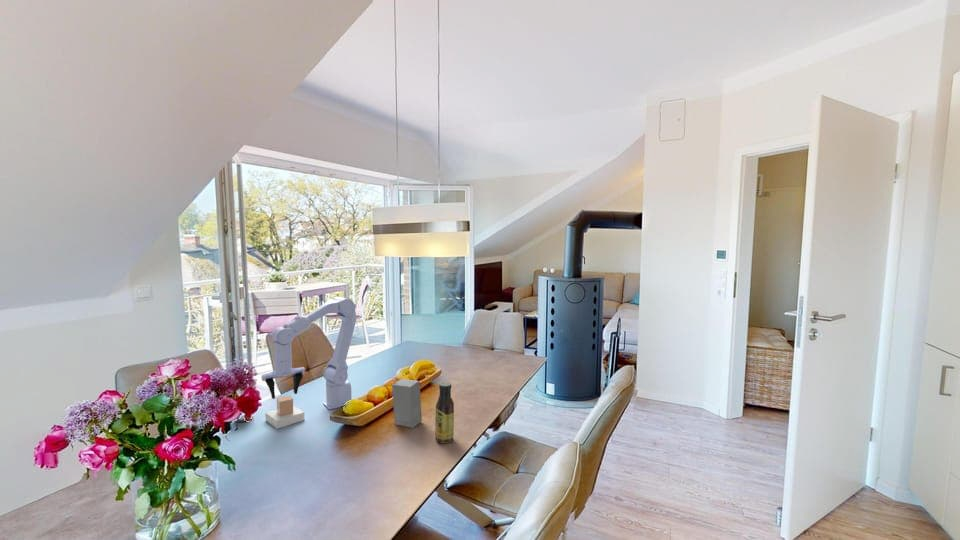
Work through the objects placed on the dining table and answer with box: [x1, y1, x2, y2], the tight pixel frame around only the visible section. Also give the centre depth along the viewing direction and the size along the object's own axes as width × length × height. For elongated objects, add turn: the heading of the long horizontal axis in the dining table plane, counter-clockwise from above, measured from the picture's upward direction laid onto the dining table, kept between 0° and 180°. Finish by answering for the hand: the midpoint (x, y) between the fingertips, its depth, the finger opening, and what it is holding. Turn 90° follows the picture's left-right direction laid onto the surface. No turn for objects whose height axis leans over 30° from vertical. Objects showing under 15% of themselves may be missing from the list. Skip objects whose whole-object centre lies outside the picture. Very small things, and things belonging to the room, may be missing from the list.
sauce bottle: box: [434, 381, 455, 444], centre depth 139 cm, size 6×6×20 cm
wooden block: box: [276, 394, 294, 416], centre depth 153 cm, size 5×5×6 cm
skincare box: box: [391, 378, 423, 429], centre depth 152 cm, size 8×7×16 cm
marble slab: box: [265, 404, 305, 430], centre depth 154 cm, size 10×10×3 cm
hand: (284, 395), depth 154 cm, fingers open, 7 cm apart
